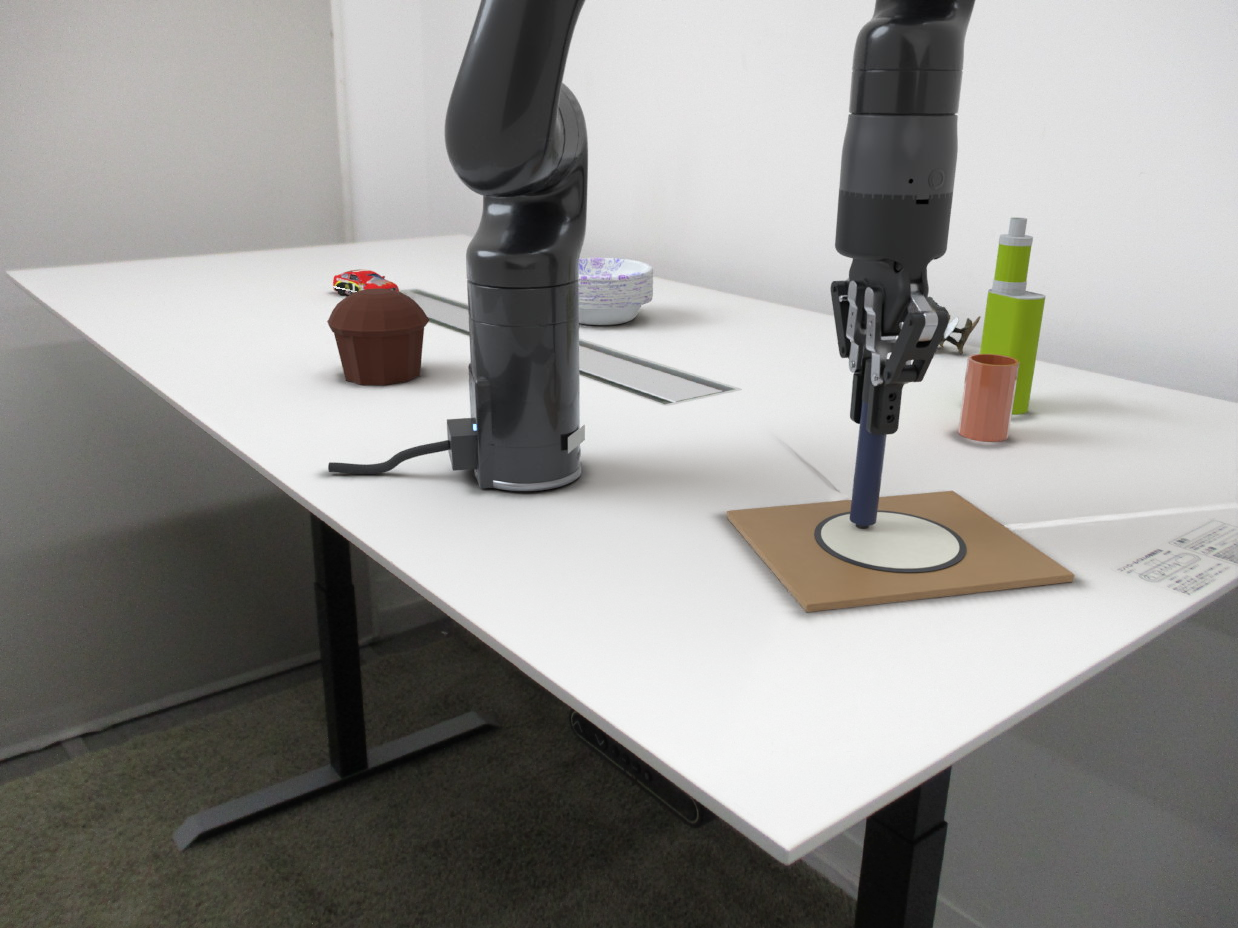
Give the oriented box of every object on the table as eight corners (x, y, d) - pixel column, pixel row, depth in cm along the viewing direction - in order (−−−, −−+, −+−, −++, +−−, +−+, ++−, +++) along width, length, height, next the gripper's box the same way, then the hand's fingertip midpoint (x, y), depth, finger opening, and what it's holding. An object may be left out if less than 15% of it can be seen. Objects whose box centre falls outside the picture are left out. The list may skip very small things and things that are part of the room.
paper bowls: (594, 336, 139) (594, 278, 136) (529, 317, 150) (527, 264, 147) (674, 320, 149) (675, 266, 146) (606, 304, 159) (606, 254, 156)
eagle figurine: (978, 338, 134) (915, 317, 138) (983, 300, 129) (917, 279, 133) (952, 377, 131) (889, 354, 135) (956, 339, 126) (890, 317, 130)
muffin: (312, 382, 116) (303, 296, 113) (366, 359, 126) (359, 279, 123) (401, 392, 113) (395, 304, 109) (450, 368, 122) (445, 286, 119)
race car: (405, 299, 163) (404, 274, 161) (378, 304, 159) (376, 278, 157) (356, 288, 171) (354, 264, 169) (329, 293, 167) (327, 268, 165)
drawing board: (806, 612, 66) (807, 602, 66) (726, 517, 80) (726, 508, 80) (1073, 581, 70) (1075, 572, 70) (951, 496, 85) (952, 488, 85)
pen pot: (974, 447, 96) (985, 367, 94) (948, 432, 101) (958, 355, 98) (1016, 444, 97) (1029, 364, 95) (989, 429, 102) (1000, 352, 99)
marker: (855, 533, 76) (874, 365, 71) (843, 522, 78) (861, 358, 73) (881, 531, 76) (901, 364, 72) (868, 520, 78) (887, 357, 74)
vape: (990, 400, 111) (1016, 215, 104) (1033, 415, 106) (1064, 222, 99) (965, 405, 110) (990, 217, 103) (1008, 420, 105) (1037, 223, 98)
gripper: (803, 177, 74) (789, 404, 80) (894, 196, 61) (869, 463, 67) (897, 175, 75) (876, 398, 81) (1004, 193, 63) (970, 454, 69)
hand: (873, 426), depth 74 cm, fingers closed on marker, 2 cm apart
